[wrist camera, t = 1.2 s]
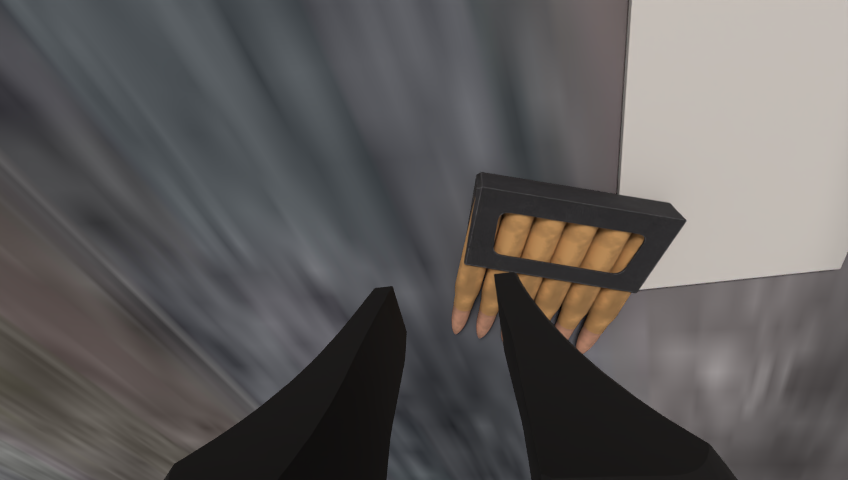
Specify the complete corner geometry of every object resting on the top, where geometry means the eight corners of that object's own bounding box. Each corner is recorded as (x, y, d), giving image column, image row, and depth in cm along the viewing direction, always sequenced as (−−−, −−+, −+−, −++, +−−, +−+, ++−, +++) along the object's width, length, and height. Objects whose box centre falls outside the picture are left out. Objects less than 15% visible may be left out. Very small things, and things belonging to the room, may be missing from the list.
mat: (1014, -153, 13) (1025, -157, 12) (835, 265, 21) (840, 268, 21) (632, -55, 15) (635, -57, 15) (611, 289, 24) (612, 292, 23)
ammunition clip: (477, 171, 20) (443, 321, 27) (477, 186, 18) (441, 341, 25) (672, 202, 20) (587, 346, 27) (688, 220, 18) (594, 367, 25)
